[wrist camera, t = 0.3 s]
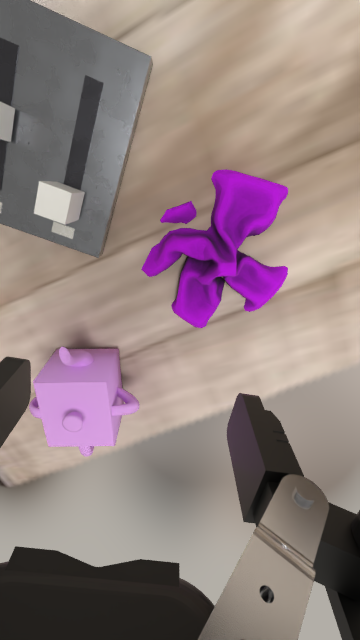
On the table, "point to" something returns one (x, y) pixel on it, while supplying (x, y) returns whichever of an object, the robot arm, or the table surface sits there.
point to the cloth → (221, 247)
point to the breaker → (58, 202)
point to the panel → (65, 119)
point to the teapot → (81, 398)
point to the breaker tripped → (6, 121)
